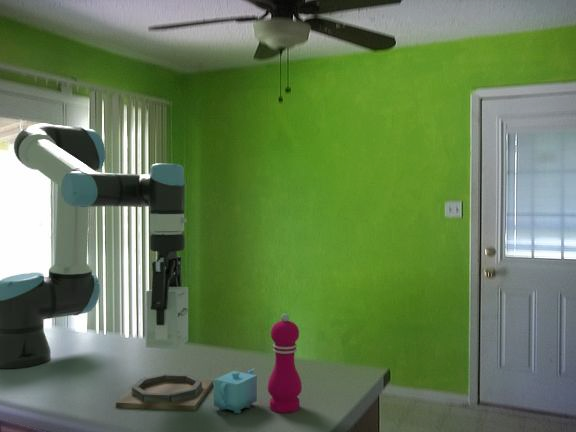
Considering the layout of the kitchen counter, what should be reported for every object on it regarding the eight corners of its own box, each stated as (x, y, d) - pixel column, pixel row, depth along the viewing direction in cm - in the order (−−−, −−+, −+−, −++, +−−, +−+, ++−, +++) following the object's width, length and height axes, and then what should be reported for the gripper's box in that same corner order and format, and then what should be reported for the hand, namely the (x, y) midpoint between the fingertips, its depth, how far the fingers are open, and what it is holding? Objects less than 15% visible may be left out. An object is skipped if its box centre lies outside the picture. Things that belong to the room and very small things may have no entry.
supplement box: (176, 349, 120) (176, 291, 120) (145, 347, 122) (144, 290, 121) (189, 341, 127) (189, 286, 127) (159, 339, 129) (159, 285, 128)
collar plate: (115, 407, 117) (115, 395, 117) (144, 381, 134) (143, 371, 134) (194, 410, 115) (194, 398, 115) (213, 384, 132) (213, 373, 132)
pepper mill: (266, 402, 121) (267, 310, 120) (299, 401, 121) (300, 310, 121) (268, 414, 113) (268, 317, 113) (303, 413, 114) (304, 316, 113)
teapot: (242, 395, 125) (242, 362, 125) (265, 400, 122) (265, 366, 122) (208, 412, 115) (209, 376, 114) (232, 418, 111) (232, 381, 111)
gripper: (169, 235, 113) (170, 346, 114) (195, 231, 134) (195, 325, 134) (134, 235, 114) (134, 345, 114) (165, 230, 134) (165, 324, 135)
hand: (167, 334), depth 124 cm, fingers closed on supplement box, 8 cm apart
